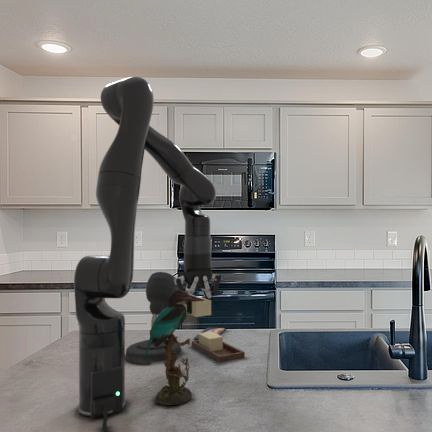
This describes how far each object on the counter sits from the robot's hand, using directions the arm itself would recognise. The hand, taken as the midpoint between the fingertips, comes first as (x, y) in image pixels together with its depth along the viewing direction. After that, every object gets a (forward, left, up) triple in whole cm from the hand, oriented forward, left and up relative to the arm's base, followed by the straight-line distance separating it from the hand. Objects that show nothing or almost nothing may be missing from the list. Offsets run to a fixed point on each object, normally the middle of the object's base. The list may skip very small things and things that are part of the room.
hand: (197, 312), depth 127 cm
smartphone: (+26, -16, -15) cm, 34 cm away
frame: (+7, -9, -15) cm, 19 cm away
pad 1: (0, 0, 0) cm, 0 cm away
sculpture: (-19, +14, -15) cm, 28 cm away
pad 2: (+11, -9, -14) cm, 20 cm away
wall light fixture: (+18, +6, -15) cm, 24 cm away
